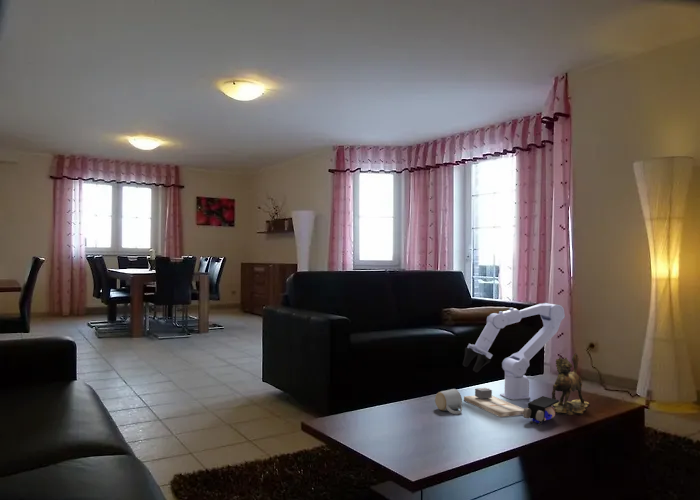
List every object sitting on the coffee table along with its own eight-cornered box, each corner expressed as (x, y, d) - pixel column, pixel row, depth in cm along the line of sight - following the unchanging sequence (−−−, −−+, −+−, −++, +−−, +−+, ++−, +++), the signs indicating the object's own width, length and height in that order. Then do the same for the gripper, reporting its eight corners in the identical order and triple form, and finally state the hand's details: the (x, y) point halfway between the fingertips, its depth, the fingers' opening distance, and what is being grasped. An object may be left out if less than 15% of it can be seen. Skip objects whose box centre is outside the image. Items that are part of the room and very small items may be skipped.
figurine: (541, 410, 194) (542, 356, 195) (567, 398, 212) (568, 349, 213) (576, 418, 185) (577, 361, 186) (600, 405, 203) (601, 354, 204)
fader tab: (485, 395, 207) (485, 387, 207) (491, 397, 203) (491, 389, 203) (475, 396, 205) (475, 388, 205) (481, 398, 201) (481, 390, 201)
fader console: (489, 398, 210) (489, 394, 210) (527, 414, 189) (527, 409, 189) (463, 400, 206) (463, 396, 206) (499, 416, 184) (500, 412, 184)
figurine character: (541, 432, 173) (560, 418, 184) (540, 410, 172) (559, 397, 183) (522, 427, 178) (541, 414, 188) (521, 406, 177) (541, 393, 188)
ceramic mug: (433, 408, 194) (434, 388, 194) (450, 406, 197) (450, 386, 197) (450, 416, 185) (450, 395, 185) (467, 413, 188) (468, 393, 188)
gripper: (469, 331, 216) (453, 359, 215) (489, 339, 203) (472, 369, 201) (480, 339, 219) (465, 366, 217) (501, 347, 205) (485, 377, 203)
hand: (469, 368), depth 209 cm, fingers open, 7 cm apart
